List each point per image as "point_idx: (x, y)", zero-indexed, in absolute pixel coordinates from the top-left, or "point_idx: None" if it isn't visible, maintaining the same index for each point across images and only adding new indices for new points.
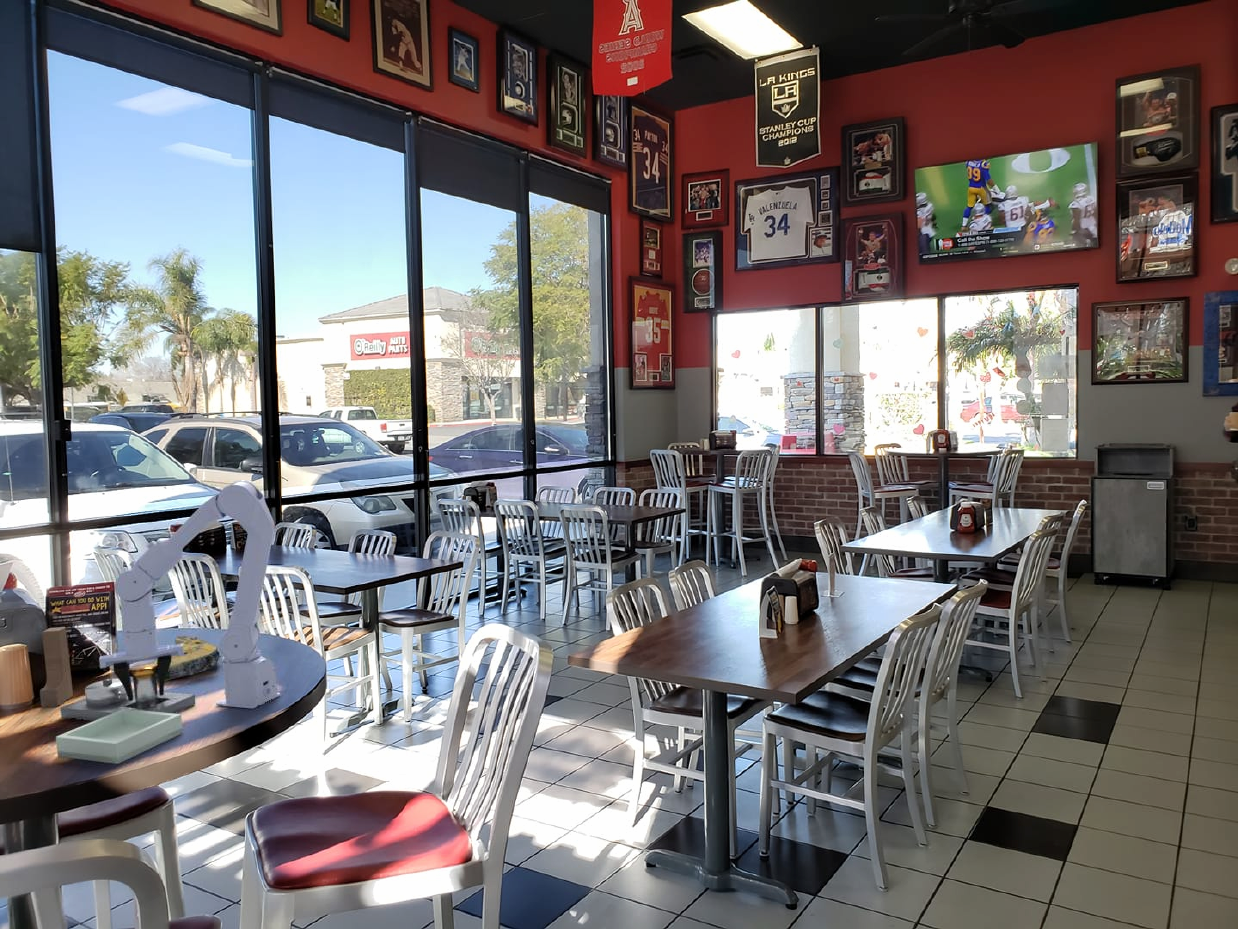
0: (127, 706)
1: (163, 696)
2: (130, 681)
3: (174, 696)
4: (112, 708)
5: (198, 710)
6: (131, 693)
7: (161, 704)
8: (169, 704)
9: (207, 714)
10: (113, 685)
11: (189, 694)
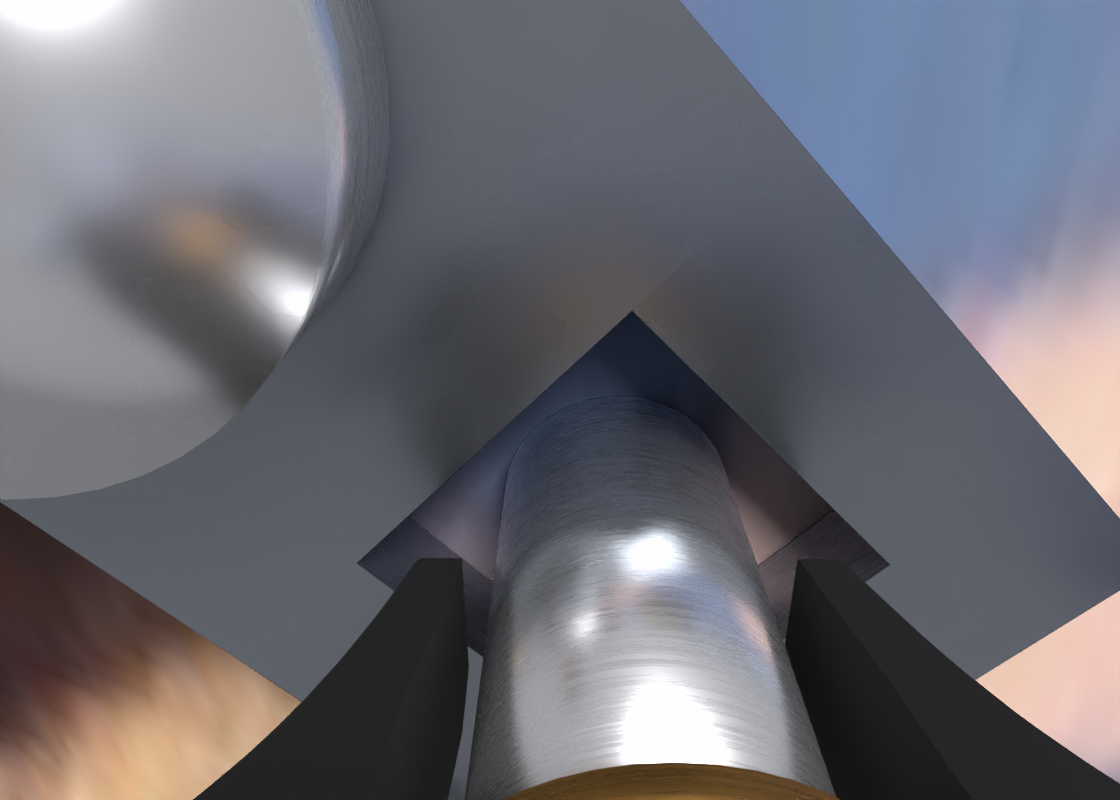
0: (401, 514)
1: (820, 422)
2: (407, 767)
3: (941, 502)
4: (241, 548)
5: (1055, 672)
6: (453, 767)
7: None
8: None
9: None
10: (40, 265)
11: (1114, 529)
